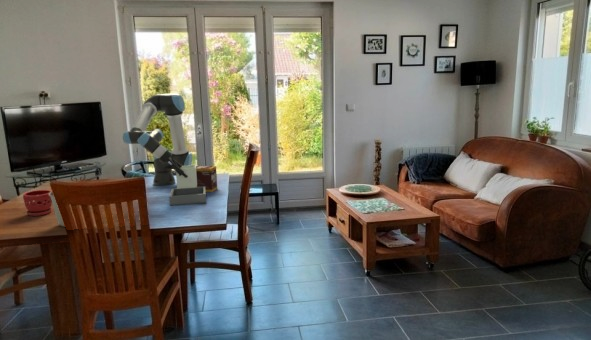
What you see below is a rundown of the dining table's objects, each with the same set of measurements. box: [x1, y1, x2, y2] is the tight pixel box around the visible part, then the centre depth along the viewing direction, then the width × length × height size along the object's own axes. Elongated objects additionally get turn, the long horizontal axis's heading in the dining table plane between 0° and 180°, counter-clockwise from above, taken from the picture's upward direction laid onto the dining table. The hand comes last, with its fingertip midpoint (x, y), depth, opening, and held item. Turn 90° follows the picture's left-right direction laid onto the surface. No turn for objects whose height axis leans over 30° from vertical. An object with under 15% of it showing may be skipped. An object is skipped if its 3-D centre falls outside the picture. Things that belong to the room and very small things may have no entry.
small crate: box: [175, 164, 197, 189], centre depth 231 cm, size 11×11×12 cm
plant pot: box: [22, 189, 53, 217], centre depth 211 cm, size 13×13×12 cm
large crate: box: [168, 187, 207, 207], centre depth 234 cm, size 20×20×6 cm
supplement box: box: [196, 165, 218, 193], centre depth 259 cm, size 10×15×16 cm
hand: (191, 178), depth 232 cm, fingers closed on small crate, 11 cm apart
